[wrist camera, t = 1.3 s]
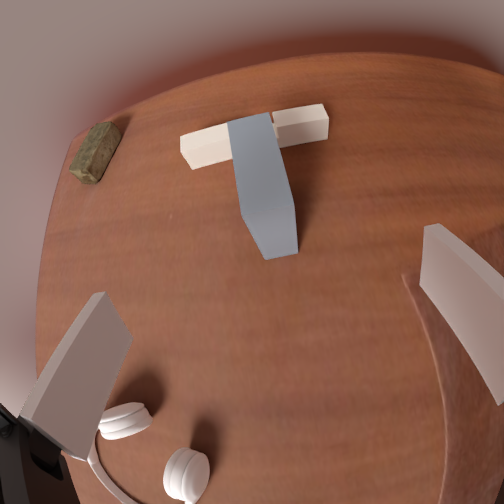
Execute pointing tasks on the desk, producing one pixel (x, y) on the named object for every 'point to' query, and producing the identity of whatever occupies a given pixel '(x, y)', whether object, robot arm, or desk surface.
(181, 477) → the headphones
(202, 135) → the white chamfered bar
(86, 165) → the stone block
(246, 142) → the blue-grey rectangular block
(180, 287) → the desk surface
